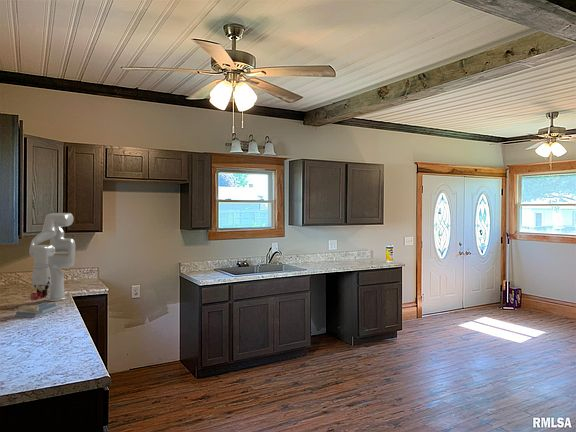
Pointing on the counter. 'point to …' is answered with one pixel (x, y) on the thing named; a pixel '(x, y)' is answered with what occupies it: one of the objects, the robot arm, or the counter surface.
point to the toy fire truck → (38, 294)
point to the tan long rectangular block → (28, 308)
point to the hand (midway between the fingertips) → (42, 295)
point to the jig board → (42, 310)
